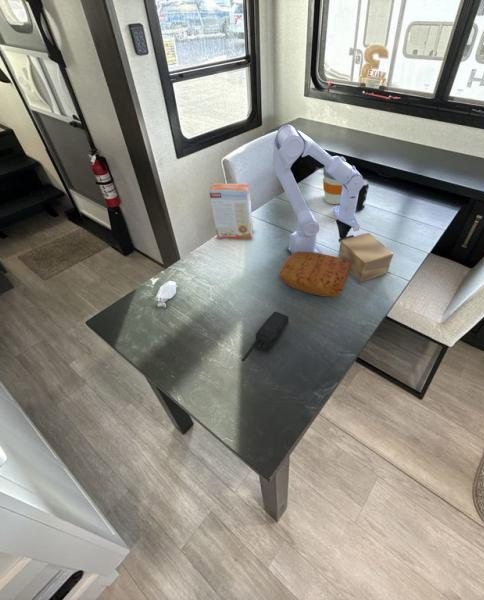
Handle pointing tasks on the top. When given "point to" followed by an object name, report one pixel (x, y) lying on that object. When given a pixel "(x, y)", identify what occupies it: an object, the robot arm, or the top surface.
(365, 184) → the beverage can
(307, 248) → the robot arm
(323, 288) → the cuneiform tablet
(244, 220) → the cracker box
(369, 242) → the cabinet
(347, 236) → the drawer
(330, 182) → the reusable coffee cup
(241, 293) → the top surface
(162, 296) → the bird figurine
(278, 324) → the walkie-talkie
